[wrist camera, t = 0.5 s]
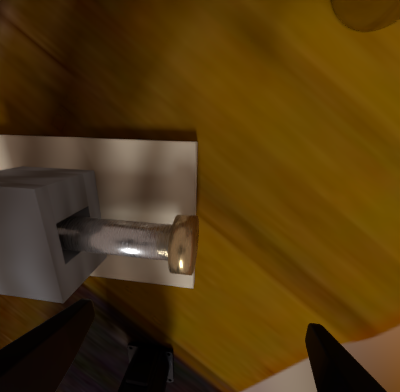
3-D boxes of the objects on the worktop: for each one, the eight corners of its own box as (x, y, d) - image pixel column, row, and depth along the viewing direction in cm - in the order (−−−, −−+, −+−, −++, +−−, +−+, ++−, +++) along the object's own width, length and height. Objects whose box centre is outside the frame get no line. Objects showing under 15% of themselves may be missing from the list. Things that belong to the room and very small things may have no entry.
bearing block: (197, 141, 18) (178, 149, 11) (194, 282, 23) (180, 346, 16) (-11, 134, 21) (-131, 137, 14) (28, 262, 26) (-45, 310, 19)
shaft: (199, 207, 18) (189, 233, 13) (198, 252, 20) (189, 289, 15) (72, 197, 19) (25, 218, 15) (80, 240, 21) (40, 270, 16)
